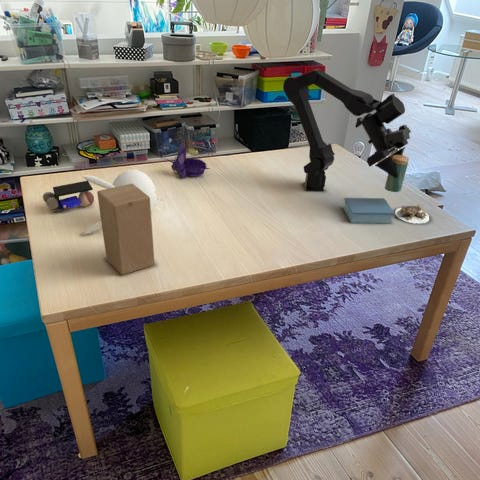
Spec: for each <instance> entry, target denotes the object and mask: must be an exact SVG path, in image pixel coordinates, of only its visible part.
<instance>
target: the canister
mask: <svg viewBox="0 0 480 480" xmlns="http://www.w3.org/2000/svg"><path fill="white" fill-rule="evenodd" d="M409 160H410V158H409V157H407V156H406V155H404V154H403V155H394V156H393V159H392V161H393V164H394V166H395V169H396V171H397V174H398V177H397V178H394V177H393V176H391V175H390V174H388V173H387V175H386V179H385V184H384V190H386V191H388V192H390V193H391V192H392V193H399V192H401V191H402V190H403V189H402V188H403V185H404V181H405V178H406V174H407V169H408V166H409Z"/></svg>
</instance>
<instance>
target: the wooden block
mask: <svg viewBox="0 0 480 480" xmlns="http://www.w3.org/2000/svg"><path fill="white" fill-rule="evenodd" d="M96 194H97V202H98V207H99V209H98V210H99V216H100V220H101V223H102V227H101V230H102V237H103V245H104V252H105V258H106V260H107V261H108V262H109V264H111V266H113V268H114V269H115V270H116V271H117V272H118V273H119V274H120V275H121V276H123V275H127V274H130V273H133V272H136V271H140V270H144V269H146V268H151V267H153V266H155V264H156V263H155V252H154V251H155V250H154V248H155V247H154V238H153V237H154V235H153V223H152V222H153V221H152V216H151V205H150V197H149V196H148V195H146V194H145V193H144V192H143V191H141V190H140V189H139V188H138V187H136V186H135V185H134V184H128V185H123V186H118V187H114V188H109V189H106V188H104V189H100V190H97V193H96Z"/></svg>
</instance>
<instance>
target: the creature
mask: <svg viewBox="0 0 480 480" xmlns="http://www.w3.org/2000/svg"><path fill="white" fill-rule="evenodd" d="M173 155H174V158H175V159H174V160H170V159H167V158H165V157H163V159H164V160H166V161H167V162H170V163H172V164H171V166H170V167H171V170H172V171H173V172H174V173H175V172H176V173H180V174H178V178H181V179H184V178H186V175H187V176H188V177H192V178H193V177H200V176H202V175H204V174H205V171H206V170H210V169H211V168H209V167H208V165H207V164H208V163H206V162H205V160H202V159H201V158H196V157H192V156H191V157H187V147H186V146H185V139H183V140H182V141H181V144H180V146H179V149H178V151H177V154H173Z"/></svg>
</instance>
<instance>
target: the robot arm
mask: <svg viewBox="0 0 480 480" xmlns="http://www.w3.org/2000/svg"><path fill="white" fill-rule="evenodd" d="M313 85H314V86H316V87H318V88H320V89H321V90H322V91H324V92H326V93H328V94H329V95H331V96H332V97H334V98H335V99H337V100H338V101H340V102H341V103H342V105H344V107H345V108H346V110H348V112H350V113H351V114H352V115H353V116H355V117H357V118H356V123H355V128H356V129H357V128H359V127H361V126H362V128H363V129H364V131H365V133H366V135H367V137H368V139H369V140H367V142H368V145H371V144H372V146H373V148H374V150H375V151H374V152H373V154H371V155H370V156H368V157H367V159H366V164H367V165H368V167H369V168H370V167H373V166H374V167H376V168H379V169H380V170H382V171H383V172H385V173H386V174H387V175H388V174H390V175H391V176H393V177H394V178H397V177H398V174H397V171H396V169H395V166H394V164H393V161H392V159H393V156H394V155H403V156H404V151H405V150H406V146H407V145H408V144H409V142H408V140H410V138H411V136H410V133H411V132H412V131H411V129H410V127H408V126H407V124H402V125H399V127H398V129H397V130H392V129H391V128H389V127H388V128H387V127H386V126H385V124H387V125H388V124H390V123H392V122H394V121H395V120H396V119H398V118H399V117H401V116H402V115H403V114H405V113H406V112H405V111H406V107H405V105H404V103H403V101H402V100H401V99H400V98H399V97H397V96H396V95H395V93H391V94H389V95H388V96H387V97H386V98H385V99H383V100H382V101H380V100H378V99H375V98H374V97H373V95H371V94H370V93H369V92H365V91H363V90H359V89H354V88H350V87H349V86H348V85H346V84H344V83H343V82H341V81H339V80H338V79H336V78H335V77H333V76H332V75H330V74H328V73H327V72H325V71H324V70H323V69H321V68H316V69H311V70H310V71H309V72H306V73H304V74H295V75H293V76H289V77H287V78H286V79H285V80H284V82H283V84H282V90H283V92H284V94H285V96H286V98H287V100H288V101H289V102H290V103H291V104H292V105H293V106H294V107H295V110H296V113H297V116H298V118H299V121H300V124H301V127H302V130H303V132H304V135H305V138H306V140H307V143H308V146H309V152H308V153H309V154H308V156H309V162H308V163H306V164H305V165H304V166H303V173H305V179H304V182H303V187H304V188H305V190H306V191H309V192H310V191H313V192H324V191H325V186H326V179H327V176H326V171H327V170H328V169H329V167H331V166H332V165H333V164H334V161H335V155H336V154H335V152H334V151H333V146H332V144H331V143H328V144H327V143H326V142H325V141H324V139H323V137H322V134H321V131H320V129H319V126H318V123H317V121H316V117H315V115H314V112H313V109H312V107H311V103H310V100H309V98H310V97H309V96H310V88H309V87H311V86H313ZM374 111H375V112H374ZM365 114H366V115H365ZM363 115H364V116H363ZM361 116H363V117H361Z"/></svg>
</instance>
